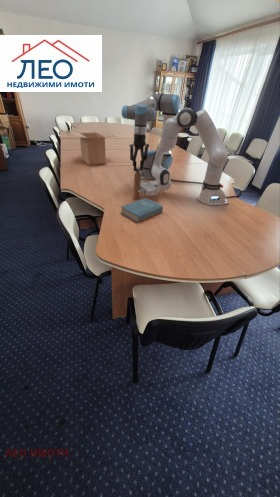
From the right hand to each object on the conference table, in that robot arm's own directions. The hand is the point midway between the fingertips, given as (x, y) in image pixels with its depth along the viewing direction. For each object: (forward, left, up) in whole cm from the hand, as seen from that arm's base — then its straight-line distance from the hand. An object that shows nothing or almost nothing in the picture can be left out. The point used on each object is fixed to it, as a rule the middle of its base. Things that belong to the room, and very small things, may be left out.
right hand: (135, 189), depth 162 cm
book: (-3, +24, -7) cm, 26 cm away
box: (+41, -92, -7) cm, 101 cm away
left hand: (-1, 0, +14) cm, 14 cm away
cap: (-1, 0, +15) cm, 15 cm away
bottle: (-1, 0, -7) cm, 7 cm away
